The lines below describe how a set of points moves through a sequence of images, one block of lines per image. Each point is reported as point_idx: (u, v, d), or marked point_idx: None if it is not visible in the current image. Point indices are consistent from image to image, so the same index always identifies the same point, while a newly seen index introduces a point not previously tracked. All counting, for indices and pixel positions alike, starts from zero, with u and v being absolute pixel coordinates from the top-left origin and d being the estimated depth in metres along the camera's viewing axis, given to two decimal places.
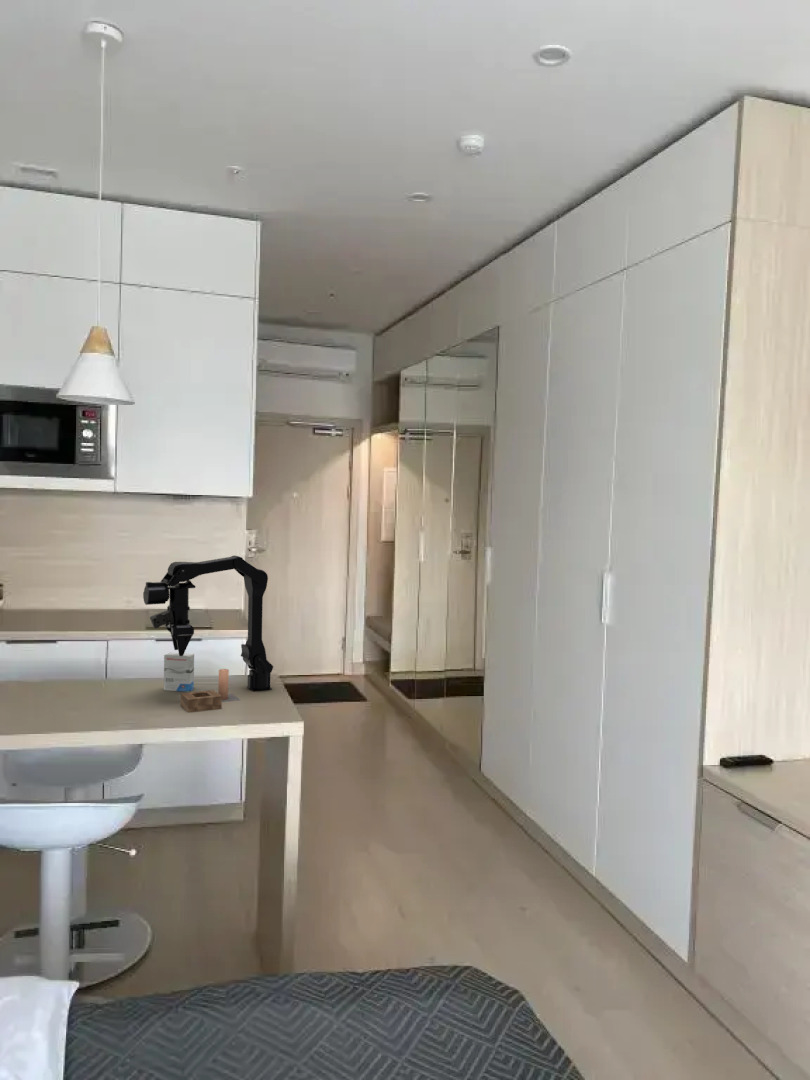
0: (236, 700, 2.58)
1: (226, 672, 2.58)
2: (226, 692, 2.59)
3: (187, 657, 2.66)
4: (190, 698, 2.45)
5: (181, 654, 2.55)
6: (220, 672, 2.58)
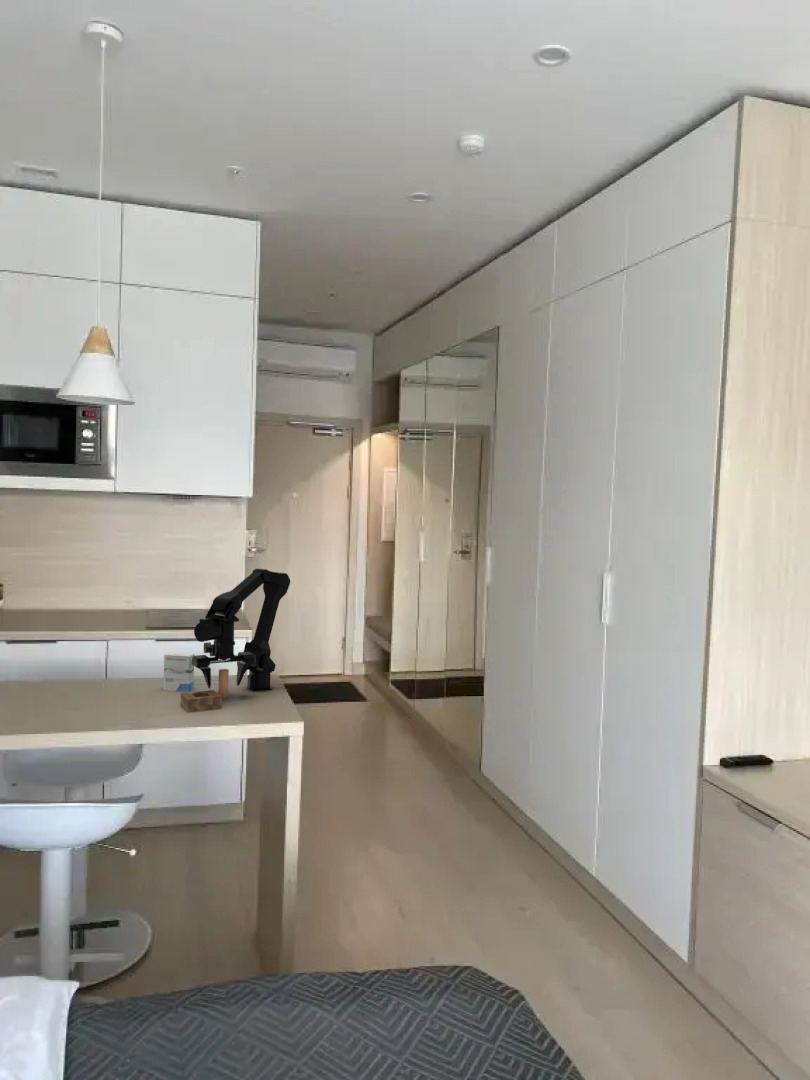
0: (236, 700, 2.58)
1: (226, 672, 2.58)
2: (226, 692, 2.59)
3: (187, 657, 2.66)
4: (190, 698, 2.45)
5: (208, 686, 2.57)
6: (220, 672, 2.58)
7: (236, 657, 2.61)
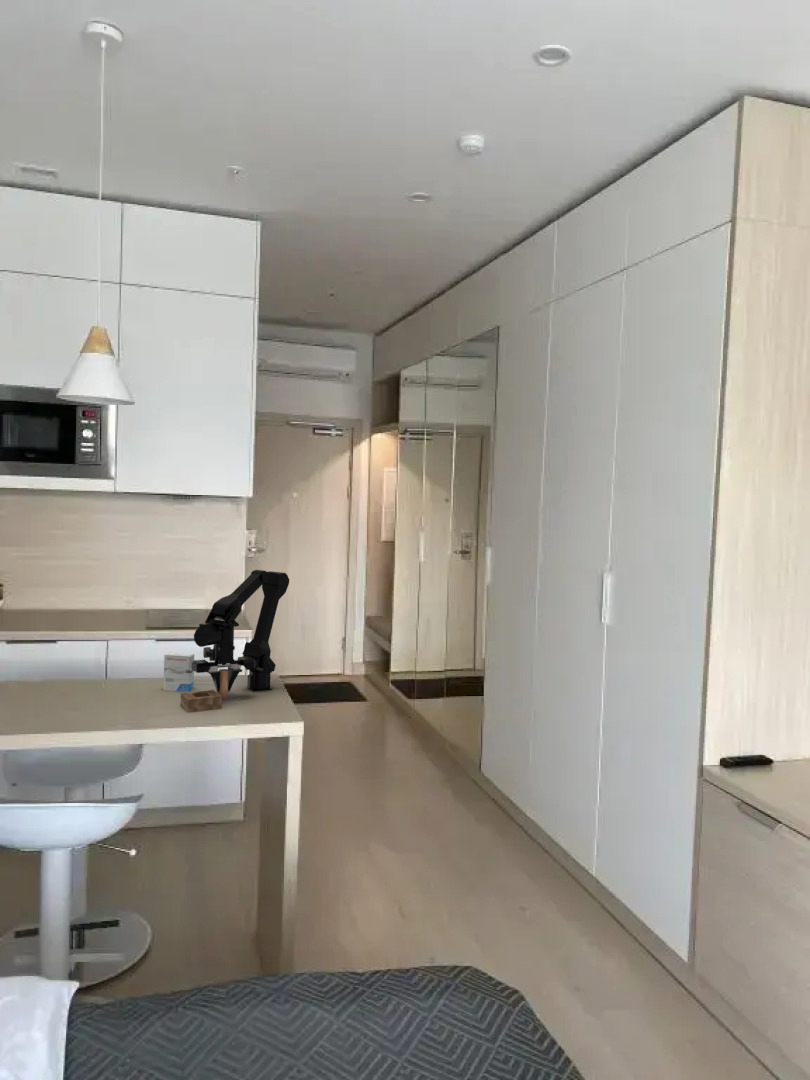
0: (236, 700, 2.58)
1: (226, 672, 2.58)
2: (226, 692, 2.59)
3: (187, 657, 2.66)
4: (190, 698, 2.45)
5: (217, 690, 2.59)
6: (220, 672, 2.58)
7: (236, 662, 2.61)
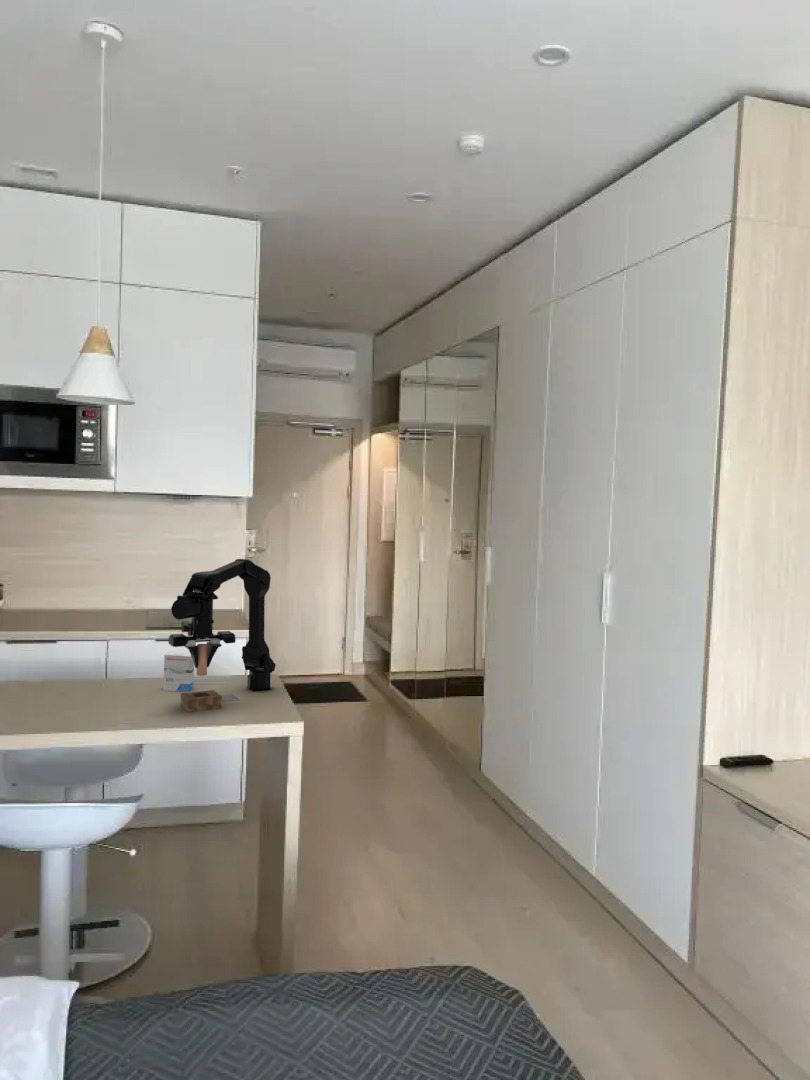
0: (236, 700, 2.58)
1: (205, 647, 2.47)
2: (205, 668, 2.48)
3: (187, 657, 2.66)
4: (190, 698, 2.45)
5: (195, 666, 2.48)
6: (198, 647, 2.47)
7: (215, 636, 2.50)
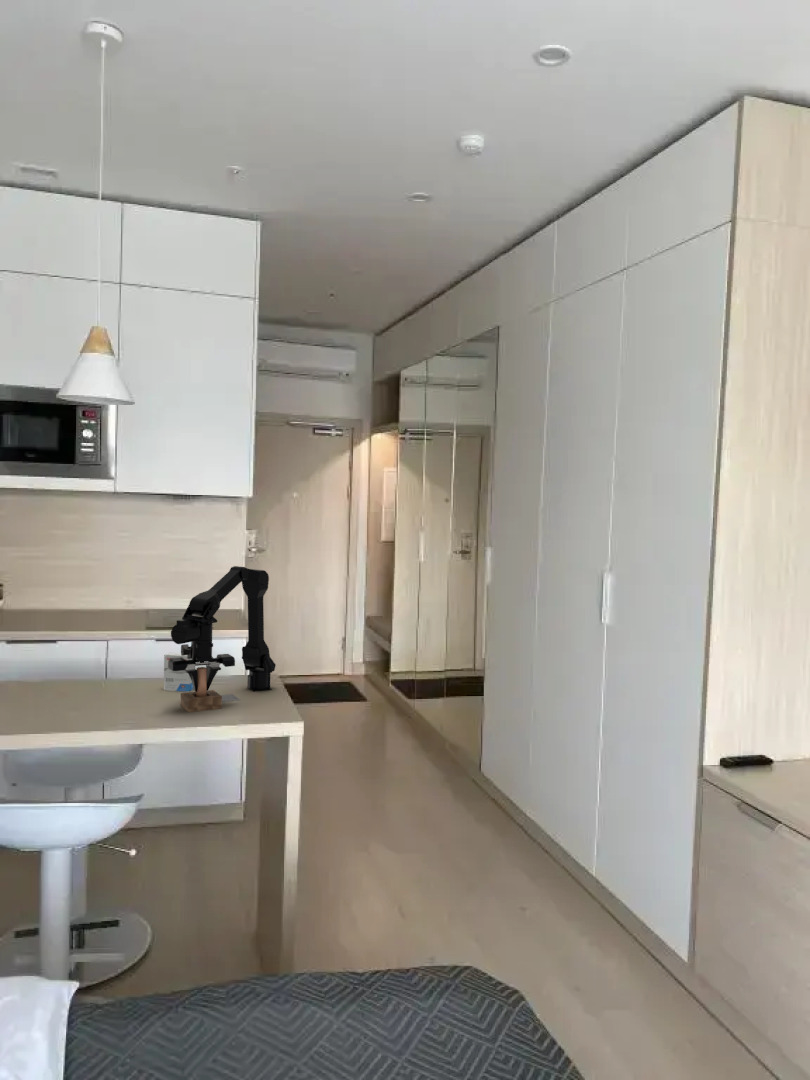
0: (236, 700, 2.58)
1: (204, 670, 2.48)
2: (204, 691, 2.49)
3: None
4: (190, 698, 2.45)
5: (194, 689, 2.48)
6: (198, 670, 2.48)
7: (214, 660, 2.50)
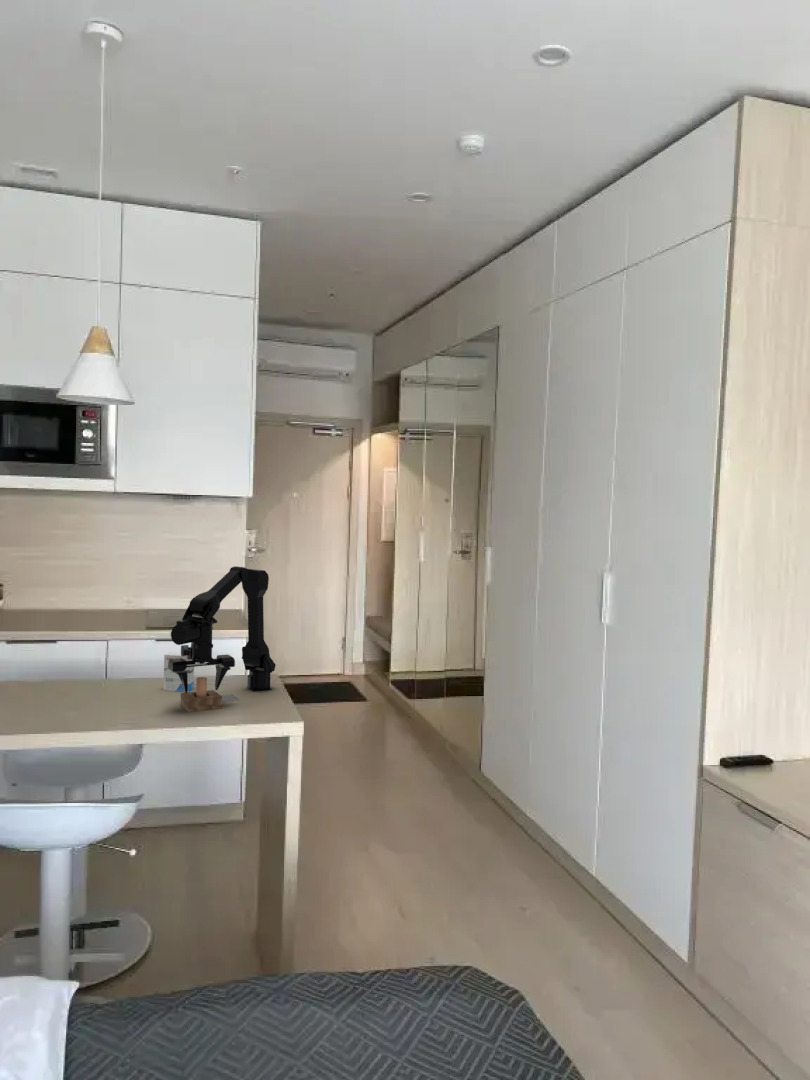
0: (236, 700, 2.58)
1: (204, 680, 2.48)
2: None
3: None
4: (190, 698, 2.45)
5: None
6: (198, 680, 2.48)
7: (214, 660, 2.50)
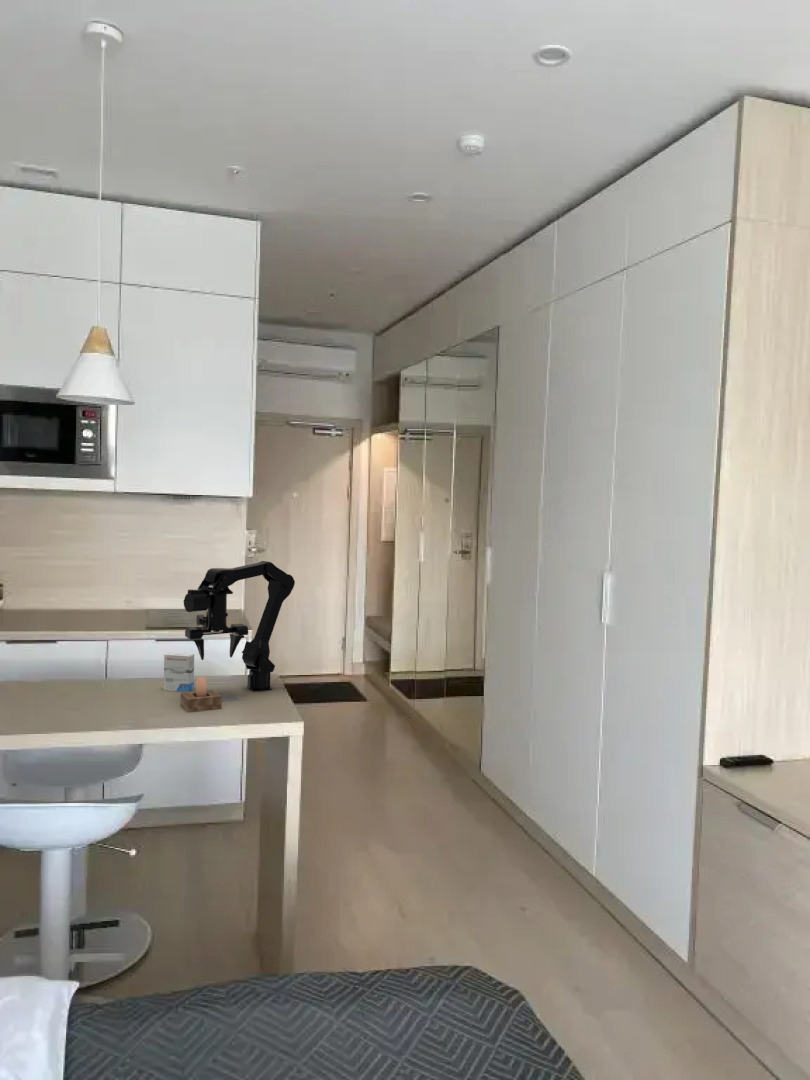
0: (236, 700, 2.58)
1: (204, 680, 2.48)
2: None
3: (187, 657, 2.66)
4: (190, 698, 2.45)
5: (201, 658, 2.59)
6: (198, 680, 2.48)
7: (229, 629, 2.62)
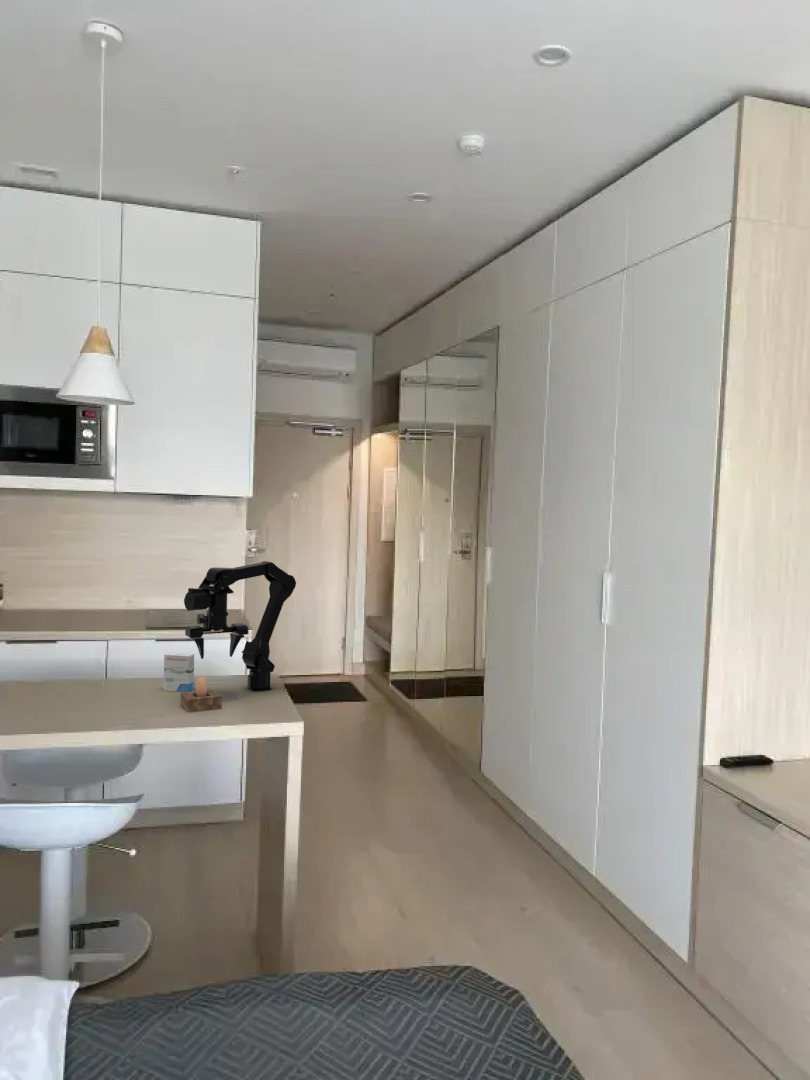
0: (236, 700, 2.58)
1: (204, 680, 2.48)
2: None
3: (187, 657, 2.66)
4: (190, 698, 2.45)
5: (201, 657, 2.59)
6: (198, 680, 2.48)
7: (229, 628, 2.63)
